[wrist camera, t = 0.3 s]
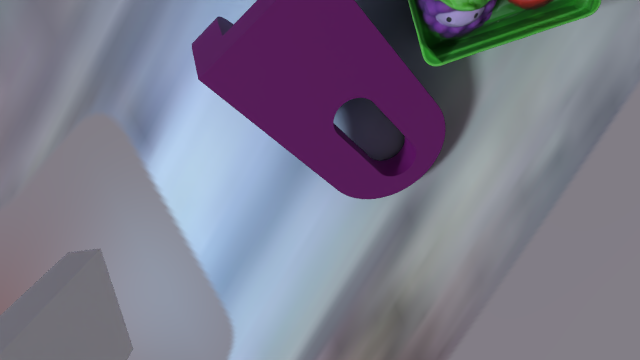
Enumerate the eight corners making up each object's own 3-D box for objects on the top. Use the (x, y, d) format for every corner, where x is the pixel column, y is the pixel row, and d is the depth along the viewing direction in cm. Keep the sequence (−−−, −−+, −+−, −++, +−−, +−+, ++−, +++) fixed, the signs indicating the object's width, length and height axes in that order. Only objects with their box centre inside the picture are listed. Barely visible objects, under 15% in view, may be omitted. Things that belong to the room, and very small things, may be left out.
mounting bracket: (417, 89, 43) (284, -77, 31) (466, 140, 36) (320, -45, 25) (338, 158, 45) (187, 25, 34) (371, 217, 38) (197, 78, 27)
